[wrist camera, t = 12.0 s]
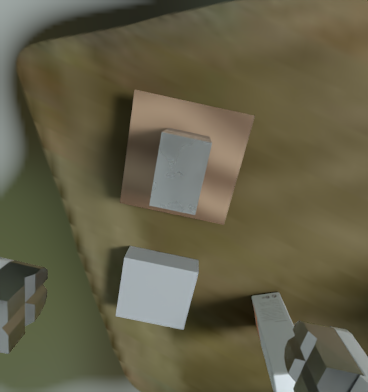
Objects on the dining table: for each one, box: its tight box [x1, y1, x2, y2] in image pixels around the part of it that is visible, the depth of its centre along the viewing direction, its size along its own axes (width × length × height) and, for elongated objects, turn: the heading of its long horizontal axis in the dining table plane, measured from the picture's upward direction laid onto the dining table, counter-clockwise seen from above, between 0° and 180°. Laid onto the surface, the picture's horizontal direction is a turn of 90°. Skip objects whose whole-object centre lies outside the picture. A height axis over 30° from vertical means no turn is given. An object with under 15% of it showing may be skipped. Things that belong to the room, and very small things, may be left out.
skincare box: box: [251, 292, 295, 392], centre depth 33 cm, size 6×4×12 cm
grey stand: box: [116, 246, 199, 330], centre depth 36 cm, size 10×10×3 cm
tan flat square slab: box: [120, 90, 255, 225], centre depth 30 cm, size 13×13×3 cm
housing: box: [149, 128, 212, 215], centre depth 26 cm, size 7×4×6 cm, turn 168°
